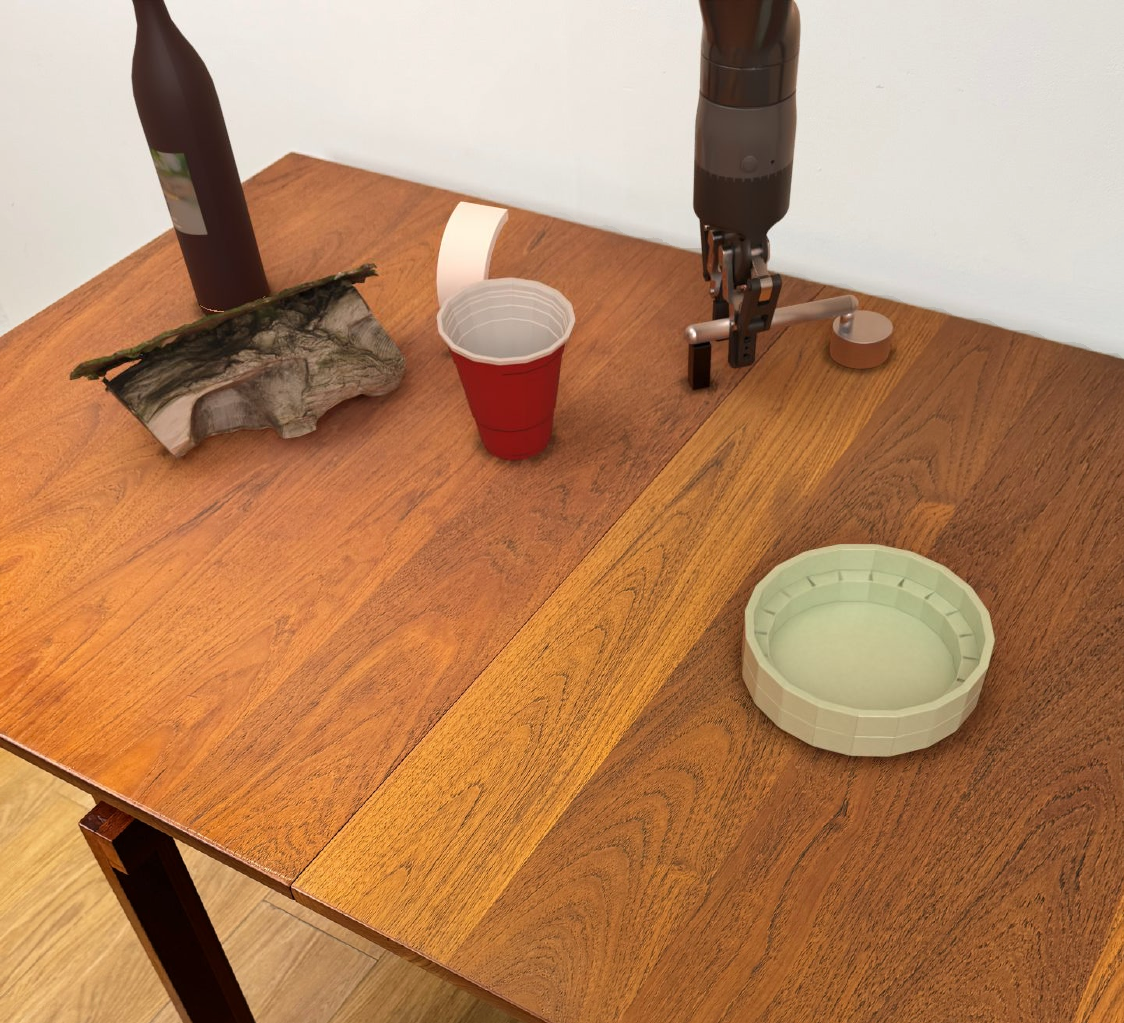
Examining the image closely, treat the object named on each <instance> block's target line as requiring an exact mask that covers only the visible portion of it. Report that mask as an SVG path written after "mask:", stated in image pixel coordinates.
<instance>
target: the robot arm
mask: <svg viewBox="0 0 1124 1023" xmlns="http://www.w3.org/2000/svg"><path fill="white" fill-rule="evenodd" d="M698 5H699V6H698V7H699V10H700V15H701V21H702V27H701V38H700V54H699V56H700V59H699V90H698V93H699V94H698V101H697V107H696V114H695V120H694V121H695V122H694V148H693V149H694V153H693V155H694V157H693V186H692V187H693V189H692V190H693V191H692V208H693V212H694V214H695V216H696V217H697V218H698V221H699V233H700V235H699V236H700V246H701V247H700V248H701V261H702V277H703V279H704V281H705V282H707V283H708V282H710V283H709V286H708V287H709V289H708V294H709V295H710V299H712V316H711V321H714V320H720V319H725V318H729V320H730V321H729V326H730V328H729V338H725V339H720V340H715V342H717V343H719V342H724V341H728V348H727V363H728V365H729V367H730V368H731V369H733V370H734V369H741V368H746V367H750V366H752V365H753V364H754V363H755V362H756V352H757V340H758V338H757V336H758V333H763V332H768V331H771V330H770V326H771V323H772V319H773V316H774V312H775V309H777V305H778V302H779V297H780V295H781V292H782V287H783V279H782V277H781V274H780V273H774V274H773V273H772V274H770V273H769V270H768V263H769V261H770V259H771V242H770V239H769V238H768V234H769V231H770V230H771V229H772V228H773V227H774V226H775V225H776V224H778V223H779V222H780V221H782V219H784V218H785V216H786V215H787V213H788V212H789V210H790V204H791V192H792V180H793V170H794V169H793V168H794V157H795V146H796V135H797V124H798V110H797V109H798V108H797V85H798V73H799V63H800V62H799V61H800V52H801V51H800V49H801V48H800V47H801V34H802V31H801V30H802V28H801V26H802V24H801V14H800V9H799V7H798V5H797V2H796V1H795V0H698ZM742 286H743V287H742Z"/></svg>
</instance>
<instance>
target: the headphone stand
mask: <svg viewBox="0 0 1124 1023" xmlns="http://www.w3.org/2000/svg"><path fill="white" fill-rule="evenodd" d="M508 220H509V209H508V208H501V207H497V206H491V205H485V204H479V203H472V202H467V201H460V202H459V203H458V204H457V206H456V207H455V208H454V210H453V212H452V213H451V215H450V217H449V219H448V220H447V223H446V226H445V229H444V232H443V235H442V238H441V243H440V246H439V252H438V258H437V259H438V260H437V265H436V266H437V267H436V294H437V301H438V307H439V310H440V309H441V307H442V305H443V303H444V301H445V300H446V299H447V298H449V297H450V296H451V295H453V294H454V293H456V292H457V291H458V290H460V289H461V288H462V287H465V286H468V285H471V284H474V283H477V282H480V281H483V280H488V279H489V273H490V266H491V261H492V255H493V253H494V248H495V246H496V242H497V240H498V237H499V235H500V233H501V231H502V229H503V227H504V226H505V224H506V223H507V221H508Z"/></svg>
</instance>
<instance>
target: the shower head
mask: <svg viewBox="0 0 1124 1023" xmlns="http://www.w3.org/2000/svg"><path fill="white" fill-rule="evenodd" d="M858 309H859V299H858V298H857V296H855V295H854V294H845V295H840V296H834V297H830V298H829V297H828V298H825V299H818V300H814V301H808V302H804V303H799V304H793V305H788V306H782V307H778V308H777V307H776V309H775V312H774V316H773V319H772V323H771V326H770V330H769V331H771V330H776V329H781V328H786V327H792V326H797V325H802V324H807V323H811V322H818V321H822V320H823V321H824V320H828V319H832V318H835V319H834V321H833V322H832V328H831V334H830V343H829V356H830V358H831V359H832V360H833V361H834V362H835V363H837V364H838V365H841V366H843V367H846V368H850V369H854V370H866V369H873V368H876V367H878V366H880V365H882V364H884V363H885V362H886V361H887V359H888V358H889V354H890V350H891V343H892V337H893V332H894V331H893V330H894V325H893V323H892V321H891V320H890V319H889V318H888V317H887V316H885V315H883V314H881V313H879V312H876V311H871V310H865V309H864V310H861V309H860V310H858ZM729 321H730V320H729V318H725V319H720V320H714V321H712V320H710V321H704V322H699V323H693V324H691V325H690V324H689V325H688V326H687V327H686V328H685V329H684V333H683V337H684V340H685V342H686V343H688V345H687V346H688V347H687V348H688V349H687V351H688V352H687V354H688V355H687V356H688V357H687V382H688V384H689V386H690V387H691V389H692V391H696V390H702V389H706V388H707V389H708V388H710V387H711V372H712V371H711V368H712V348H713V346H712V343H711V342H714V341H715V340H720V339H725V338H729V328H730V326H729ZM715 342H716V341H715Z"/></svg>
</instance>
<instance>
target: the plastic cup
mask: <svg viewBox="0 0 1124 1023" xmlns="http://www.w3.org/2000/svg"><path fill="white" fill-rule="evenodd" d="M576 321H577V320H576V317H575V311H574V307H573V304H572V303H571V302H570V301H569V300H568V298H566V297H565V296H564V295H563V294H562V293H561V291H559V290H558V289H555V288H554V287H551V286H549V285H547V284H545V283H542V282H540V281H538V280H531V279H524V278H519V277H501V278H490V279H489V278H488V280H483V281H480V282H477V283H474V284H471V285H468V286H465V287H462V288H461V289H460V290H458V291H457V292H456V293H454V294H453V295H451V296H450V297H449V298H447V299H446V300H445V301H444V303H443V305H442V307H441V309H440V308H439V311H438V312H437V314H436V324H437V331H438V335H439V337H440V338H441V339H442V341H444V343H445V344H446V345H447V347H448V351H449V353H450V354H451V358H452V360H453V364H454V365H455V366H456V369H457V373H458V376H459V378H460V382H461V385H462V387H463V388H462V389H463V391H464V394H465V397H466V400H467V403H468V406H469V407H468V408H469V410H470V412H471V416H472V418H473V419H474V421H475V424H476V429H477V430H478V433H479V438H480V440H481V442H482V444H483V445H484V448H485V449H486V451H487V452H488V453H489V454H490V455H491V456H493V457H496V458H499V459H500V460H507V461H519V460H526V459H527V460H528V459H529V458H533V457H535V456H537V455H539V454H540V453H541V452H543V451H544V450H545V449H546V448H547V447H548V445H549V444H550V440H551V436H552V434H553V427H554V426H553V425H554V418H555V417H554V415H555V409H556V407H557V400H558V392H559V384H560V376H561V368H562V362H563V361H562V360H563V354H564V352H565V347H566V343H567V342H568V340H569V338H570V336H571V333H572V331H573V329H574V326H575V324H576Z"/></svg>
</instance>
